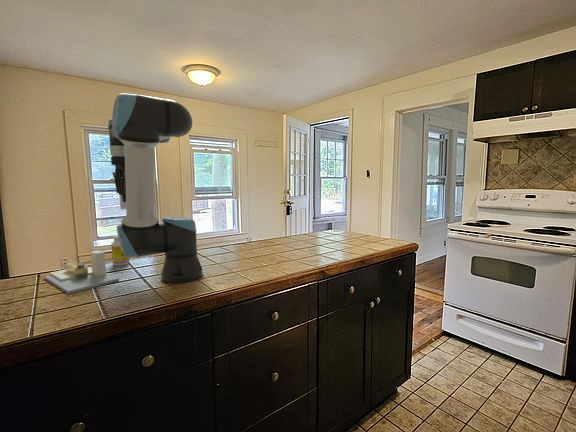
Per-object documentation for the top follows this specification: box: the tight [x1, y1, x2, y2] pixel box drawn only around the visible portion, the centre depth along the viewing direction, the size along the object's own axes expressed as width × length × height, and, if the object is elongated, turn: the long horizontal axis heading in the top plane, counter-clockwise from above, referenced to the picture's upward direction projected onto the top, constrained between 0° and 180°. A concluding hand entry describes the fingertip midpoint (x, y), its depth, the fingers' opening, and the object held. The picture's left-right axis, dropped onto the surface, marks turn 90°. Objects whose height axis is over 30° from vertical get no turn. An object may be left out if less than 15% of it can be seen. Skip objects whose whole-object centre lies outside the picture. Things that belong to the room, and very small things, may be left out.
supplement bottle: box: [111, 234, 130, 267], centre depth 134 cm, size 7×7×13 cm
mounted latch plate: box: [43, 250, 120, 295], centre depth 113 cm, size 26×16×10 cm, turn 53°
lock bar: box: [64, 261, 89, 276], centre depth 115 cm, size 14×4×3 cm, turn 54°
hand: (124, 209), depth 136 cm, fingers closed
